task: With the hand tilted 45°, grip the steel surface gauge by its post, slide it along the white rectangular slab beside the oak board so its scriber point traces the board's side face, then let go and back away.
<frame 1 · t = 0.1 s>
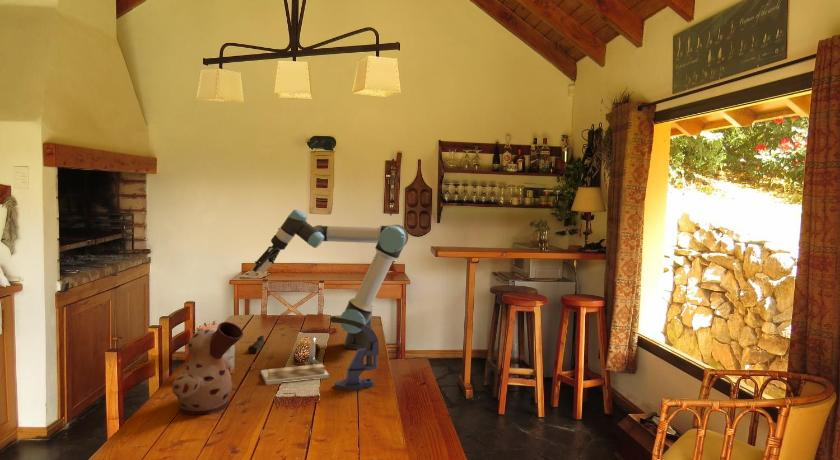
hand: (256, 274, 270), 36 cm above the table, tool tilted 35°, fingers open, 13 cm apart
vessel: (210, 407, 200), on the table
hand press: (353, 386, 224), on the table
oak board: (296, 375, 231), resting on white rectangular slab
hand tool: (256, 349, 273), on the table
surface gauge: (312, 367, 241), point 1 cm above the table, touching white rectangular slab
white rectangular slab: (294, 375, 234), on the table
cracker box: (215, 376, 231), on the table
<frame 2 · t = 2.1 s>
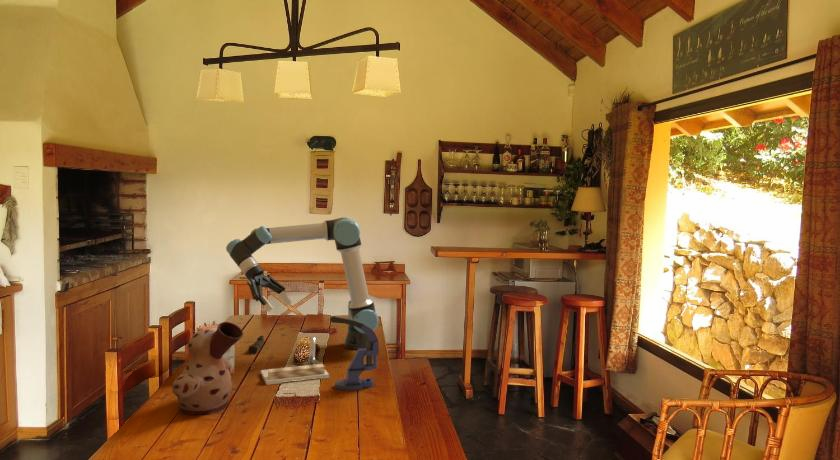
hand: (280, 307, 245), 26 cm above the table, tool tilted 45°, fingers open, 13 cm apart
nothing on the table moved.
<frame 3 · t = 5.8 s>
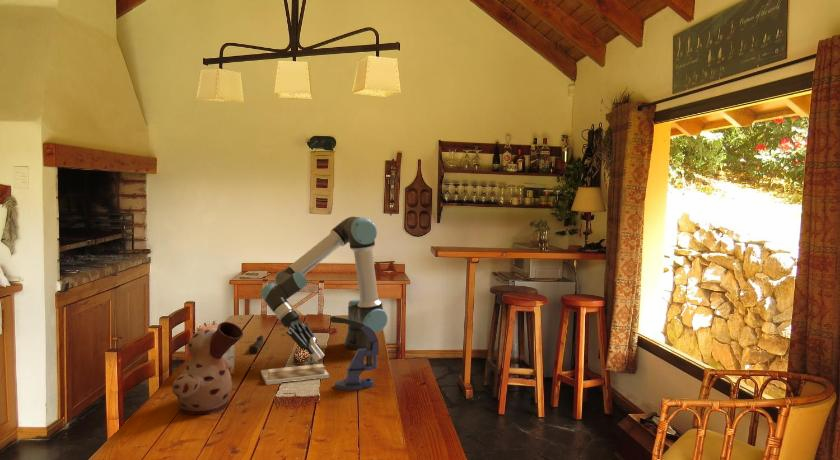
hand: (320, 358, 239), 6 cm above the table, tool tilted 45°, fingers closed on surface gauge, 2 cm apart
surface gauge: (312, 367, 241), point 1 cm above the table, touching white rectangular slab, gripper
everything else where it was.
when the fingers open (6 cm above the table, at t = 10.0 s): surface gauge stays where it is, resting on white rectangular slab.
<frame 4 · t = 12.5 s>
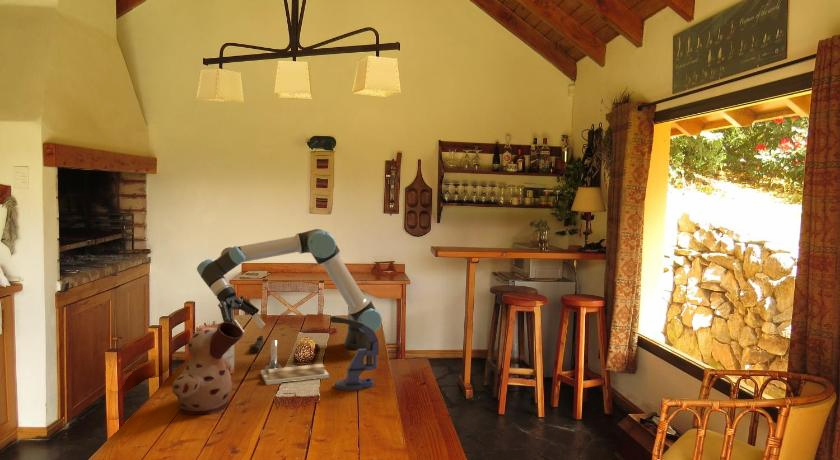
hand: (253, 330, 237), 18 cm above the table, tool tilted 45°, fingers open, 13 cm apart
surface gauge: (273, 371, 234), point 1 cm above the table, touching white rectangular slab
cracker box: (215, 376, 231), on the table, touching gripper
everything else where it was.
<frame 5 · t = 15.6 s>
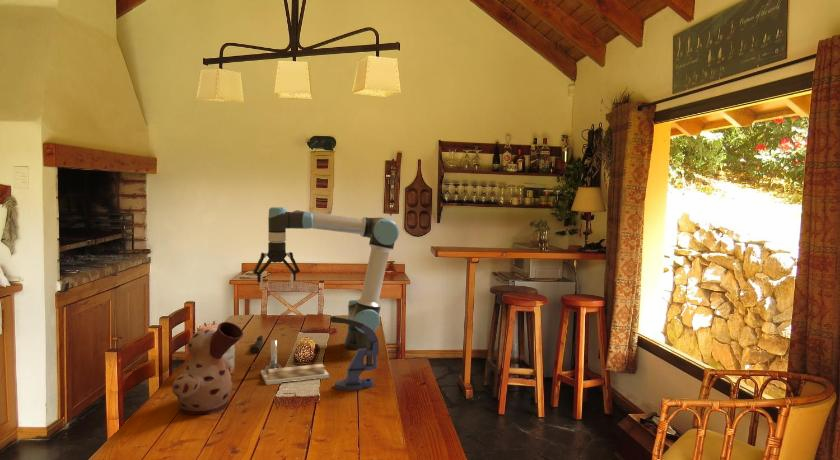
hand: (276, 288, 256), 32 cm above the table, tool pointing down, fingers open, 13 cm apart
cracker box: (215, 376, 231), on the table
everything else where it was.
at the end: surface gauge 0.1 cm from the target spot, point 1.5 cm above the table; surface gauge tilted 0°; the gripper is holding nothing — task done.
